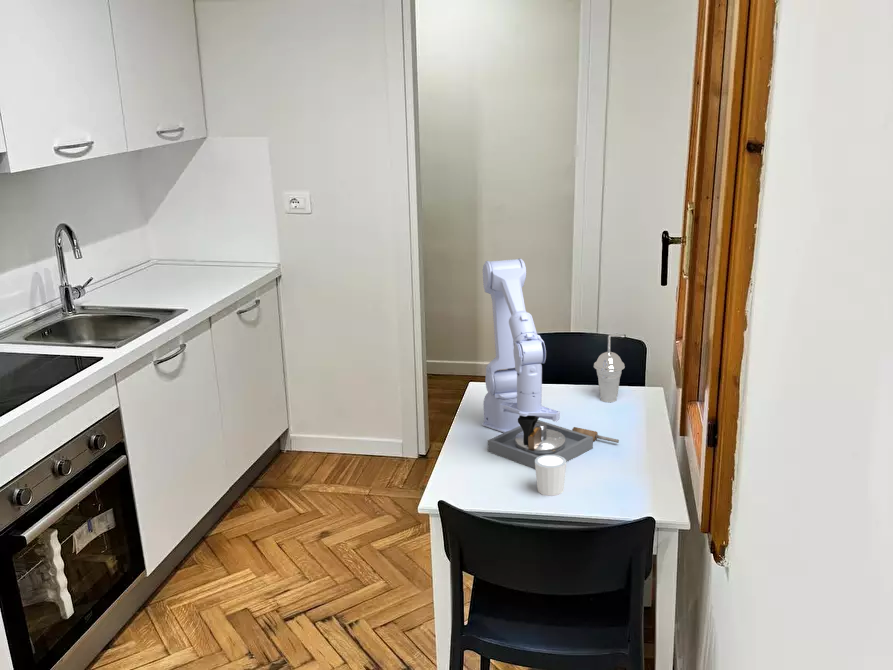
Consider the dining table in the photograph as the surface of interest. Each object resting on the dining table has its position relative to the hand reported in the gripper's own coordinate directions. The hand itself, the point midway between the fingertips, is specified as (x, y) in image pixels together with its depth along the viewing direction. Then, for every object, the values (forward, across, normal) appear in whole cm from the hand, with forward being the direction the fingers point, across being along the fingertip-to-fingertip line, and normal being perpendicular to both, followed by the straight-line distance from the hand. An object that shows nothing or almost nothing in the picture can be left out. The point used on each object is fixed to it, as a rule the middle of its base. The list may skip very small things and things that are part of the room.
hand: (529, 444), depth 196 cm
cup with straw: (+4, +5, +45) cm, 45 cm away
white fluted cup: (+4, +11, -13) cm, 17 cm away
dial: (+2, +1, +5) cm, 5 cm away
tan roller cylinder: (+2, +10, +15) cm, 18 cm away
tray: (+4, +1, +5) cm, 7 cm away
